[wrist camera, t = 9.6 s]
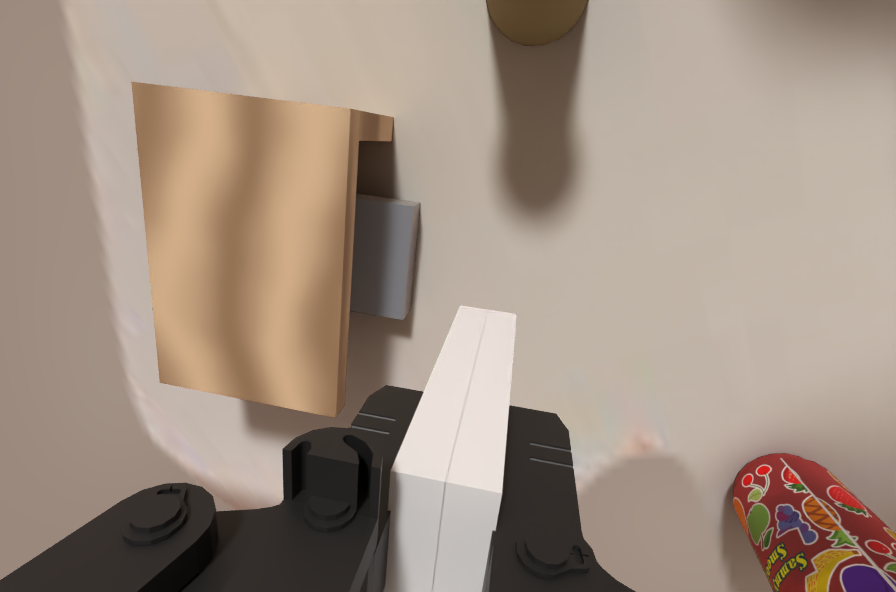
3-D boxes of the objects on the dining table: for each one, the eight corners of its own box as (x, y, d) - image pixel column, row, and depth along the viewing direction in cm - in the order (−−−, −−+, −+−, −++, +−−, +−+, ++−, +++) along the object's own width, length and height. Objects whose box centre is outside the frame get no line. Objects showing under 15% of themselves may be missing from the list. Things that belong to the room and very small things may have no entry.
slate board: (421, 201, 33) (413, 206, 30) (411, 308, 35) (402, 320, 33) (286, 182, 34) (269, 185, 31) (286, 287, 36) (269, 297, 34)
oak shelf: (393, 117, 31) (350, 108, 23) (374, 361, 37) (335, 417, 29) (224, 96, 32) (131, 81, 24) (232, 335, 38) (159, 382, 30)
